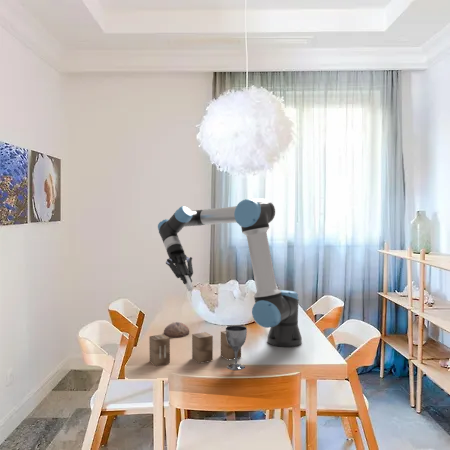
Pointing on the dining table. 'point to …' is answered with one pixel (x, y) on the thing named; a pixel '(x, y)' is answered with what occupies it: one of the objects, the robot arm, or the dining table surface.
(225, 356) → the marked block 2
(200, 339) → the unmarked block
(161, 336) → the marked block 1
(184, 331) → the decorative stone
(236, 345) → the wine glass
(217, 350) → the dining table surface
